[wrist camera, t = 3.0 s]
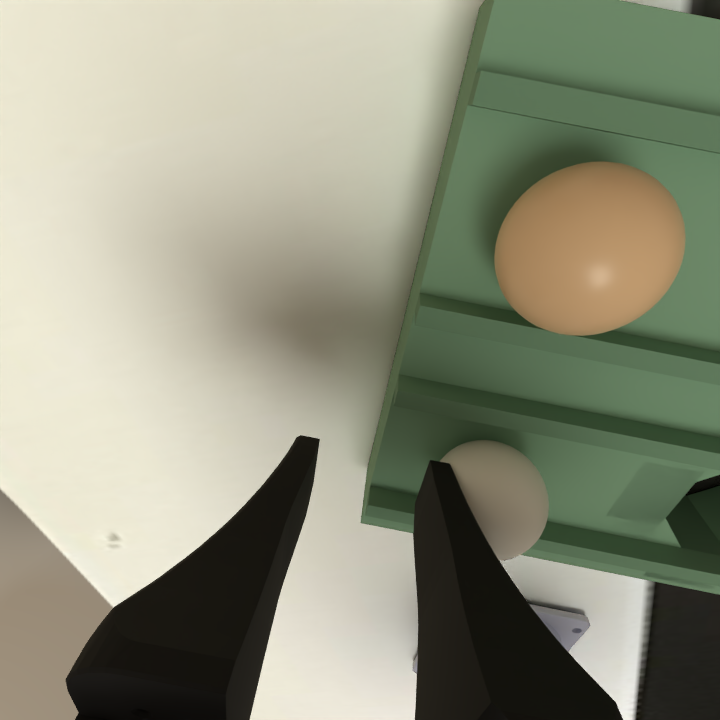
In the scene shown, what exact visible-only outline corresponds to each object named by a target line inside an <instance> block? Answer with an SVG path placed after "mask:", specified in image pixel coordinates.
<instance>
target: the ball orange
mask: <svg viewBox="0 0 720 720" xmlns="http://www.w3.org/2000/svg"><path fill="white" fill-rule="evenodd" d="M685 237H686V236H685V225H684V221H683V217H682V214H681V211H680V209H679V207H678V205H677V203H676V200H675V199H674V198H673V196H672V195H671V193H670V192H669V191H668V190H667V189H666V188H665V187H664V186H663V185H662V184H661V183H660V182H659V181H658V180H657V179H655V178H654V177H653V176H651V175H650V174H648V173H646V172H644V171H642V170H639V169H637V168H635V167H633V166H629V165H626V164H622V163H614V162H605V161H602V162H587V163H580V164H576V165H573V166H569V167H566V168H563V169H561V170H558V171H556V172H553V173H551V174H550V175H548V176H546V177H544V178H542V179H541V180H540V181H538V182H537V183H535V184H534V185H533V186H531V187H530V188H529V189H528V190H527V191H526V192H525V193H523V194H522V196H521V197H520V198H519V199H518V200H517V201H516V202H515V203H514V205H513V206H512V208H511V209H510V211H509V212H508V214H507V215H506V217H505V219H504V221H503V223H502V225H501V228H500V230H499V233H498V237H497V241H496V247H495V254H494V265H495V272H496V276H497V280H498V283H499V286H500V289H501V291H502V293H503V295H504V296H505V298H506V299H507V301H508V302H509V304H510V305H511V307H512V308H513V309H514V310H515V311H516V312H517V313H518V314H519V315H521V316H522V317H523V318H525V319H526V320H527V321H529V322H530V323H532V324H534V325H535V326H537V327H540V328H542V329H545V330H547V331H550V332H554V333H558V334H564V335H578V336H585V335H595V334H600V333H604V332H608V331H611V330H614V329H617V328H619V327H622V326H624V325H627V324H628V323H630V322H632V321H634V320H636V319H637V318H639V317H640V316H642V315H643V314H645V313H646V312H647V311H649V310H650V309H651V308H652V307H653V306H654V305H655V304H656V303H657V302H658V301H659V300H660V299H661V298H662V297H663V296H664V295H665V293H666V292H667V291H668V289H669V288H670V286H671V285H672V283H673V281H674V280H675V278H676V276H677V274H678V272H679V269H680V266H681V264H682V261H683V256H684V252H685Z"/></svg>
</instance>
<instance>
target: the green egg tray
mask: <svg viewBox="0 0 720 720" xmlns="http://www.w3.org/2000/svg"><path fill="white" fill-rule="evenodd" d="M602 161H605V162H614V163H622V164H626V165H629V166H633V167H635V168H637V169H639V170H642V171H644V172H646V173H648V174H650V175H651V176H653V177H654V178H655V179H657V180H658V181H659V182H660V183H661V184H662V185H663V186H664V187H665V188H666V189H667V190H668V191H669V192H670V193H671V195H672V196H673V198H674V199H675V200H676V203H677V205H678V207H679V209H680V211H681V214H682V217H683V221H684V225H685V236H686V237H685V252H684V256H683V261H682V264H681V266H680V269H679V272H678V274H677V276H676V278H675V280H674V281H673V283H672V285H671V286H670V288H669V289H668V291H667V292H666V293H665V295H664V296H663V297H662V298H661V299H660V300H659V301H658V302H657V303H656V304H655V305H654V306H653V307H652V308H651V309H650V310H649V311H647V312H646V313H645V314H643V315H642V316H640V317H639V318H637V319H636V320H634V321H632V322H630V323H628V324H627V325H624V326H622V327H619V328H617V329H614V330H611V331H608V332H604V333H600V334H595V335H585V336H578V335H564V334H558V333H554V332H550V331H547V330H545V329H542V328H540V327H537V326H535V325H534V324H532V323H530V322H529V321H527V320H526V319H525V318H523V317H522V316H521V315H519V314H518V313H517V312H516V311H515V310H514V309H513V308H512V307H511V305H510V304H509V302H508V301H507V299H506V298H505V296H504V295H503V293H502V291H501V289H500V286H499V283H498V280H497V276H496V272H495V265H494V254H495V247H496V241H497V237H498V233H499V230H500V228H501V225H502V223H503V221H504V219H505V217H506V215H507V214H508V212H509V211H510V209H511V208H512V206H513V205H514V203H515V202H516V201H517V200H518V199H519V198H520V197H521V196H522V194H523V193H525V192H526V191H527V190H528V189H529V188H530V187H531V186H533V185H534V184H535V183H537V182H538V181H540V180H541V179H542V178H544V177H546V176H548V175H550V174H551V173H553V172H556V171H558V170H561V169H563V168H566V167H569V166H573V165H576V164H580V163H587V162H602ZM476 440H491V441H496V442H501V443H504V444H506V445H509V446H511V447H513V448H515V449H516V450H518V451H520V452H521V453H522V454H523V455H525V456H526V457H527V458H528V459H529V460H530V461H531V462H532V463H533V465H534V466H535V467H536V468H537V470H538V471H539V473H540V475H541V476H542V478H543V481H544V483H545V486H546V489H547V493H548V501H549V511H548V519H547V522H546V526H545V528H544V530H543V532H542V534H541V536H540V538H539V539H538V540H537V542H536V543H535V544H534V545H533V546H532V547H531V548H530V549H528V550H527V551H526V552H524V553H523V554H521V555H524V556H529V557H534V558H539V559H544V560H549V561H554V562H559V563H564V564H569V565H574V566H579V567H584V568H589V569H594V570H599V571H604V572H609V573H614V574H620V575H625V576H630V577H635V578H640V579H645V580H650V581H655V582H660V583H665V584H670V585H675V586H680V587H685V588H690V589H695V590H700V591H705V592H710V593H715V594H720V486H717V487H714V488H711V489H707V490H704V491H701V492H698V493H694V494H691V495H688V496H685V494H686V493H687V492H688V491H689V490H690V488H691V487H692V486H693V485H694V484H695V482H698V481H701V480H704V479H708V478H711V477H714V476H717V475H720V20H719V19H714V18H709V17H703V16H698V15H693V14H688V13H682V12H677V11H672V10H667V9H662V8H656V7H651V6H646V5H641V4H636V3H630V2H625V1H620V0H485V1H484V2H483V4H482V5H481V7H480V8H479V12H478V17H477V21H476V25H475V29H474V33H473V37H472V41H471V45H470V49H469V53H468V58H467V62H466V66H465V70H464V74H463V78H462V82H461V86H460V90H459V95H458V99H457V103H456V107H455V111H454V115H453V119H452V123H451V127H450V132H449V136H448V140H447V144H446V148H445V152H444V156H443V160H442V164H441V168H440V173H439V177H438V181H437V185H436V189H435V193H434V197H433V201H432V205H431V210H430V214H429V218H428V222H427V226H426V230H425V234H424V238H423V242H422V247H421V251H420V255H419V259H418V263H417V267H416V271H415V275H414V279H413V283H412V288H411V292H410V296H409V300H408V304H407V308H406V312H405V316H404V320H403V325H402V329H401V333H400V337H399V341H398V345H397V349H396V353H395V357H394V362H393V366H392V370H391V374H390V378H389V382H388V386H387V390H386V394H385V398H384V403H383V407H382V411H381V415H380V419H379V423H378V427H377V431H376V435H375V440H374V444H373V448H372V452H371V456H370V460H369V464H368V468H367V476H366V484H365V492H364V500H363V508H362V516H361V523H364V524H369V525H374V526H379V527H384V528H389V529H394V530H399V531H404V532H409V533H413V532H414V511H415V502H416V499H417V496H418V493H419V490H420V487H421V484H422V481H423V478H424V475H425V473H426V470H427V467H428V464H429V461H430V460H434V461H439V462H440V460H441V459H442V458H443V457H444V456H445V455H446V454H447V453H448V452H449V451H451V450H452V449H453V448H455V447H457V446H459V445H461V444H463V443H466V442H470V441H476Z"/></svg>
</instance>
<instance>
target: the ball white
mask: <svg viewBox="0 0 720 720" xmlns="http://www.w3.org/2000/svg"><path fill="white" fill-rule="evenodd" d="M440 462H445V463H449V464H450V465H451V467H452V469H453V471H454V474H455V476H456V478H457V481H458V483H459V485H460V488H461V490H462V492H463V494H464V496H465V498H466V501H467V503H468V505H469V507H470V509H471V511H472V513H473V515H474V517H475V519H476V521H477V523H478V524H479V526H480V528H481V530H482V532H483V534H484V536H485V537H486V539H487V541H488V543H489V544H490V546H491V548H492V550H493V551H494V553H495V555H496V556H497V558H498V560H499V561H502V560H508V559H511V558H514V557H517V556H519V555H521V554H523V553H524V552H526V551H527V550H528V549H530V548H531V547H532V546H533V545H534V544H535V543H536V542H537V540H538V539H539V538H540V536H541V534H542V532H543V530H544V528H545V526H546V522H547V519H548V511H549V501H548V493H547V489H546V486H545V483H544V481H543V478H542V476H541V475H540V473H539V471H538V470H537V468H536V467H535V466H534V465H533V463H532V462H531V461H530V460H529V459H528V458H527V457H526V456H525V455H523V454H522V453H521V452H520V451H518V450H516V449H515V448H513V447H511V446H509V445H506V444H504V443H501V442H496V441H491V440H476V441H470V442H466V443H463V444H461V445H459V446H457V447H455V448H453V449H452V450H451V451H449V452H448V453H447V454H446V455H445V456H444V457H443V458H442V459H441V460H440Z"/></svg>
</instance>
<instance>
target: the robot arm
mask: <svg viewBox="0 0 720 720" xmlns="http://www.w3.org/2000/svg"><path fill="white" fill-rule="evenodd" d="M319 440H320V439H317V438H312V437H307V436H301V435H300V436H298V437H297V438H296V440H295V441H294V443H293V445H292V446H291V448H290V450H289V451H288V453H287V454H286V456H285V457H284V458H283V460H282V461H281V462H280V464H279V465H278V467H277V468H276V469H275V470H274V472H273V473H272V474H271V475H270V477H269V478H268V479H267V480H266V482H265V483H264V484H263V485H262V486H261V488H260V489H259V490H258V491H257V492H256V493H255V494H254V495H253V496H252V497H251V499H250V500H249V501H248V502H247V503H246V504H245V505H244V506H243V507H242V508H241V509H240V510H239V511H238V512H237V513H236V514H235V515H234V516H233V517H232V518H231V519H230V520H229V521H228V522H227V523H226V524H225V525H224V526H223V527H222V528H221V529H219V530H218V531H217V532H216V533H215V534H214V535H213V536H211V537H210V538H209V539H208V540H207V541H206V542H204V543H203V544H202V545H201V546H200V547H199V548H197V549H196V550H195V551H194V552H192V553H191V554H190V555H189V556H187V557H186V558H185V559H183V560H182V561H181V562H179V563H178V564H177V565H175V566H174V567H173V568H171V569H170V570H169V571H167V572H166V573H165V574H163V575H162V576H160V577H159V578H158V579H156V580H155V581H153V582H152V583H150V584H149V585H147V586H146V587H144V588H143V589H141V590H140V591H138V592H137V593H135V594H133V595H132V596H130V597H129V598H127V599H126V600H124V601H123V602H121V603H120V604H118V605H117V606H115V607H114V608H113V609H112V610H111V611H110V613H109V614H108V615H107V616H106V617H105V619H104V620H103V621H102V622H101V624H100V625H99V626H98V628H97V629H96V631H95V632H94V633H93V635H92V636H91V637H90V639H89V640H88V642H87V643H86V645H85V647H84V648H83V650H82V652H81V653H80V655H79V657H78V659H77V660H76V662H75V664H74V666H73V667H72V669H71V671H70V673H69V675H68V676H67V678H66V684H67V689H68V692H69V694H70V696H71V698H72V700H73V702H74V704H75V706H76V708H77V710H78V712H79V713H78V715H77V717H76V719H75V720H250V715H251V711H252V707H253V702H254V698H255V694H256V690H257V686H258V681H259V677H260V673H261V669H262V664H263V660H264V656H265V652H266V648H267V644H268V640H269V635H270V631H271V627H272V623H273V619H274V615H275V611H276V607H277V603H278V599H279V595H280V592H281V589H282V585H283V582H284V579H285V576H286V573H287V570H288V567H289V564H290V561H291V558H292V555H293V552H294V549H295V546H296V544H297V541H298V538H299V535H300V532H301V529H302V526H303V523H304V520H305V517H306V513H307V509H308V505H309V500H310V496H311V491H312V487H313V482H314V475H315V468H316V461H317V454H318V447H319ZM413 537H414V554H415V570H416V585H417V600H418V654H417V656H416V658H415V660H414V662H413V671H414V672H415V673H417V688H416V710H415V720H623V718H622V716H621V714H620V712H619V709H618V707H617V704H616V702H615V701H614V700H613V699H612V698H611V697H610V696H609V695H608V694H607V693H606V692H605V691H604V690H603V689H602V688H601V687H600V686H599V685H598V684H597V682H596V681H595V680H594V679H593V678H592V677H591V676H590V675H589V674H588V673H587V672H586V671H585V670H584V669H583V668H582V667H581V666H580V665H579V664H578V663H577V662H576V660H575V659H574V658H573V657H572V656H571V655H570V654H569V653H568V651H569V650H570V649H571V647H572V646H573V645H574V644H575V643H576V642H577V641H578V639H579V638H580V637H581V636H582V635H583V634H584V633H585V631H586V630H587V629H588V628H589V626H590V623H589V621H588V618H587V617H586V616H584V615H581V614H576V613H571V612H566V611H561V610H556V609H551V608H546V607H541V606H536V605H531V604H528V602H527V601H526V599H525V598H524V597H523V595H522V594H521V593H520V591H519V590H518V588H517V587H516V586H515V584H514V583H513V581H512V580H511V578H510V577H509V575H508V574H507V572H506V571H505V569H504V568H503V566H502V564H501V563H500V561H499V560H498V558H497V556H496V555H495V553H494V551H493V550H492V548H491V546H490V544H489V543H488V541H487V539H486V537H485V536H484V534H483V532H482V530H481V528H480V526H479V524H478V523H477V521H476V519H475V517H474V515H473V513H472V511H471V509H470V507H469V505H468V503H467V501H466V498H465V496H464V494H463V492H462V490H461V488H460V485H459V483H458V481H457V478H456V476H455V474H454V471H453V469H452V467H451V465H450V464H449V463H445V462H439V461H434V460H430V461H429V464H428V467H427V470H426V473H425V475H424V478H423V481H422V484H421V487H420V490H419V493H418V496H417V499H416V502H415V511H414V532H413Z"/></svg>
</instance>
